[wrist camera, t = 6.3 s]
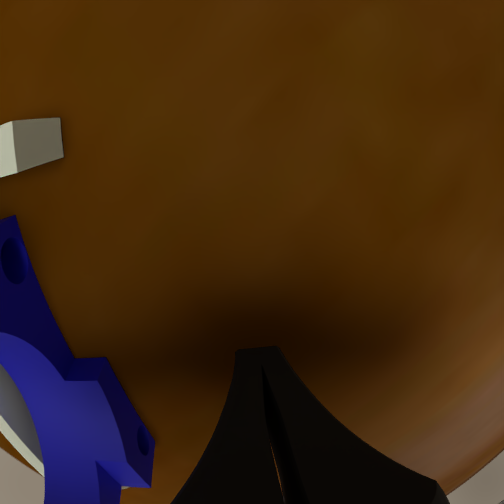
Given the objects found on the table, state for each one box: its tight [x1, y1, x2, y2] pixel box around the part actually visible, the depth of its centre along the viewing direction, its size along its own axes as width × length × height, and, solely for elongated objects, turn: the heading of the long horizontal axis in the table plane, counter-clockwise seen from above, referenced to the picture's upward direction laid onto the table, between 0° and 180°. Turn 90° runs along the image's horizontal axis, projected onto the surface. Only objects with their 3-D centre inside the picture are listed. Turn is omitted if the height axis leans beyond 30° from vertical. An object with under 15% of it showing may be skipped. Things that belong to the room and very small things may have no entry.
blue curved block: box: [0, 215, 155, 504], centre depth 8 cm, size 12×4×6 cm, turn 7°
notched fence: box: [0, 118, 64, 477], centre depth 9 cm, size 16×7×2 cm, turn 2°
